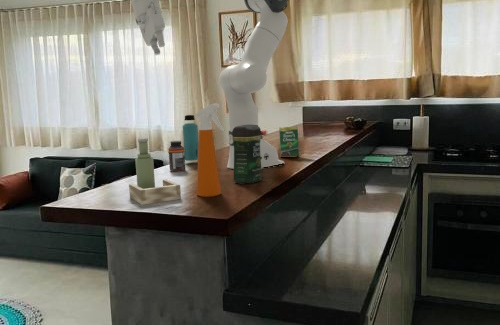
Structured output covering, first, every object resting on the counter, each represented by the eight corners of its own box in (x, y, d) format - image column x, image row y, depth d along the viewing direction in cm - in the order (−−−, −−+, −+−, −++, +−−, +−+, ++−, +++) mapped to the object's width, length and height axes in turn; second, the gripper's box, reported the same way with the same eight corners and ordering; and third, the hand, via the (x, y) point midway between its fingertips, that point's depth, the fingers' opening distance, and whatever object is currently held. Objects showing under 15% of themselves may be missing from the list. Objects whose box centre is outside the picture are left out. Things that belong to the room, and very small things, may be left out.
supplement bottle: (169, 170, 190) (167, 140, 188) (184, 168, 191) (183, 139, 189) (170, 172, 184) (168, 142, 183) (186, 171, 185) (184, 141, 184)
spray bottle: (218, 199, 136) (213, 103, 132) (191, 195, 143) (186, 104, 139) (235, 194, 142) (231, 102, 138) (209, 190, 149) (204, 102, 145)
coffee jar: (251, 185, 155) (248, 126, 152) (230, 183, 159) (227, 125, 156) (266, 179, 163) (264, 123, 160) (246, 178, 167) (243, 123, 164)
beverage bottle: (197, 164, 202) (194, 115, 199) (182, 164, 203) (179, 115, 200) (202, 161, 208) (199, 114, 205) (187, 161, 209) (184, 114, 206)
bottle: (152, 187, 158) (148, 137, 155) (157, 189, 153) (154, 138, 151) (135, 189, 155) (131, 138, 153) (140, 192, 151) (136, 140, 148)
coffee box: (280, 158, 209) (279, 127, 207) (280, 157, 212) (279, 126, 210) (299, 157, 208) (298, 126, 206) (298, 156, 211) (298, 126, 209)
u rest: (167, 192, 149) (166, 179, 148) (180, 198, 139) (180, 184, 139) (130, 197, 143) (128, 184, 143) (141, 204, 134) (140, 190, 133)
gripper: (161, -3, 157) (174, 39, 157) (152, 19, 176) (164, 56, 177) (142, 1, 155) (155, 43, 155) (135, 22, 174) (147, 60, 174)
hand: (160, 50), depth 166 cm, fingers open, 8 cm apart
